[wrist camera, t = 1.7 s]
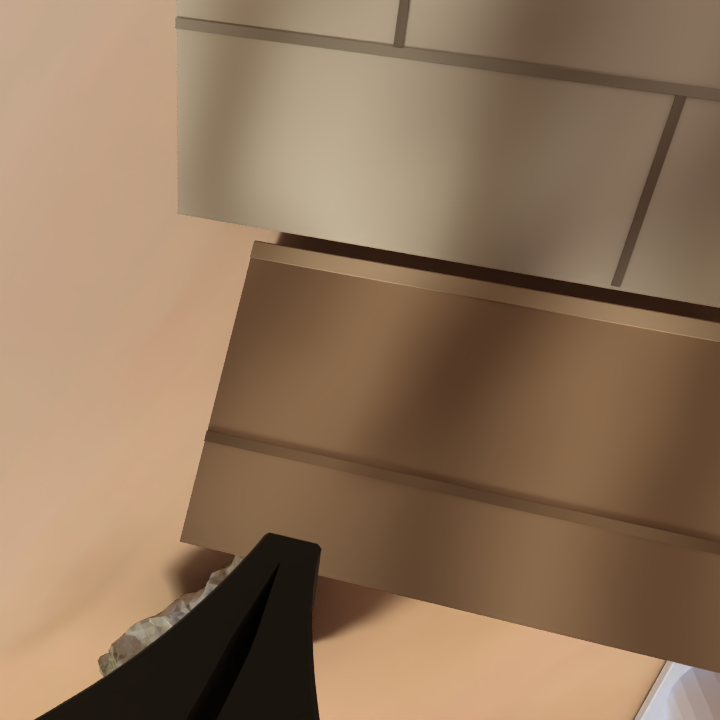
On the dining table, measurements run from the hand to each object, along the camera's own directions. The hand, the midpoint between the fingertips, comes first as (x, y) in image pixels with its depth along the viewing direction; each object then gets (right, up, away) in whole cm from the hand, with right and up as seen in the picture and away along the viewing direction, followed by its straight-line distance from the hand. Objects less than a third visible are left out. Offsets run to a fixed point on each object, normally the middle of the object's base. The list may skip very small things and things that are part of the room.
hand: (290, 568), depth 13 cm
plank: (+5, +3, +3) cm, 6 cm away
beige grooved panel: (+7, +13, +1) cm, 14 cm away
